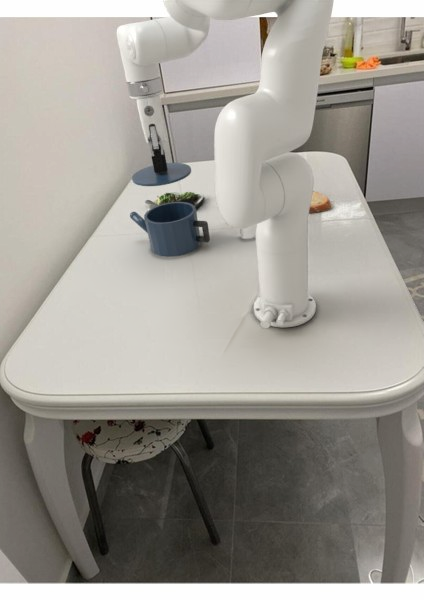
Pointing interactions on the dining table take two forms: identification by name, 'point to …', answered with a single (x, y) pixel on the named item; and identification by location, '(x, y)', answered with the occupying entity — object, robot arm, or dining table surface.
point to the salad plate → (177, 199)
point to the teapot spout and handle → (203, 224)
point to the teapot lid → (161, 175)
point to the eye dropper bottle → (248, 232)
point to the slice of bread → (319, 203)
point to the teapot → (172, 229)
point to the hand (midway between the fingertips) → (160, 168)
